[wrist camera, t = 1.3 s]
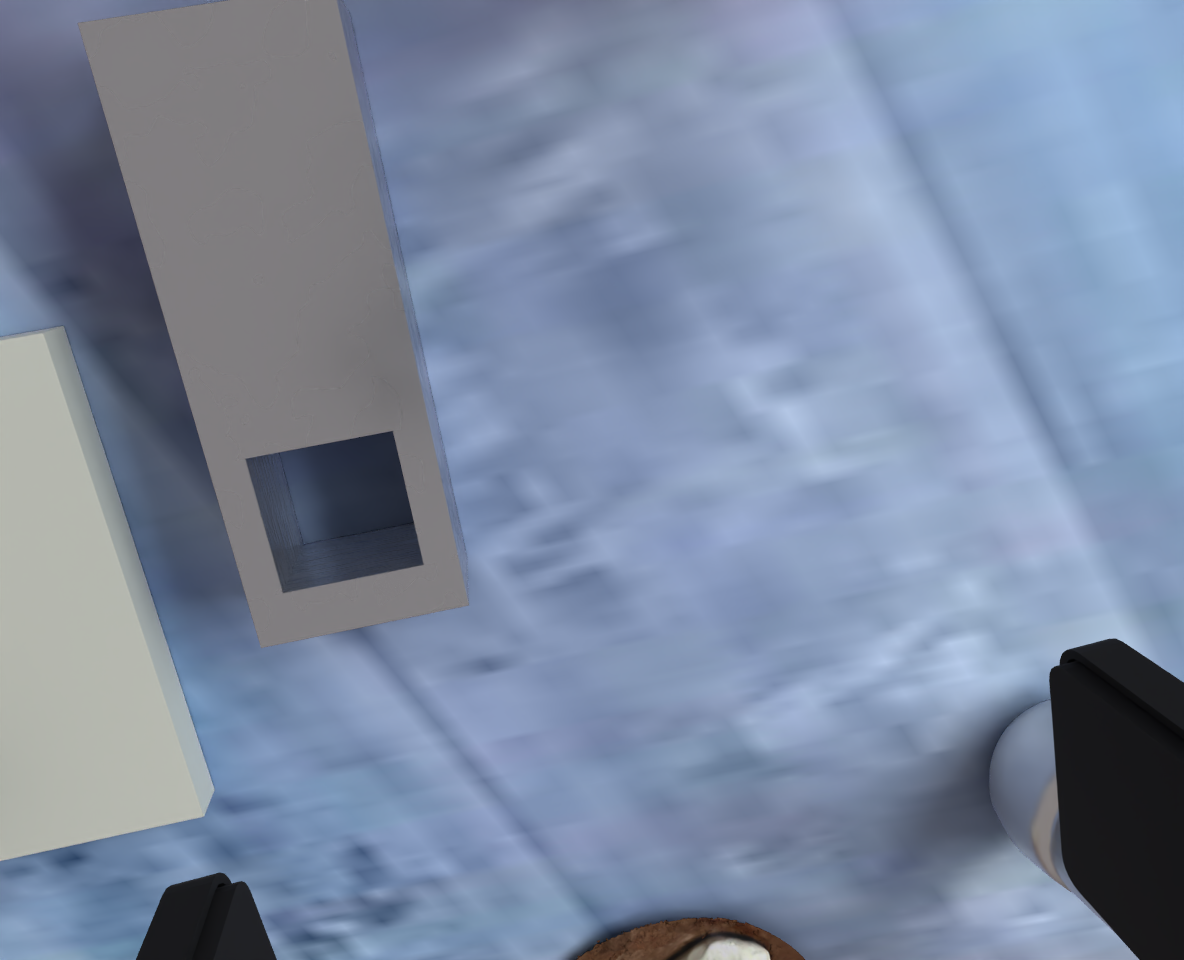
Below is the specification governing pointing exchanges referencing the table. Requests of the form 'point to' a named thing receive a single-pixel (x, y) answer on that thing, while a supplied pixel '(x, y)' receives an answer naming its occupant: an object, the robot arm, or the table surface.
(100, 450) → the board
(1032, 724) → the plastic bottle
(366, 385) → the link plate
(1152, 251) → the table surface
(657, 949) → the skull
